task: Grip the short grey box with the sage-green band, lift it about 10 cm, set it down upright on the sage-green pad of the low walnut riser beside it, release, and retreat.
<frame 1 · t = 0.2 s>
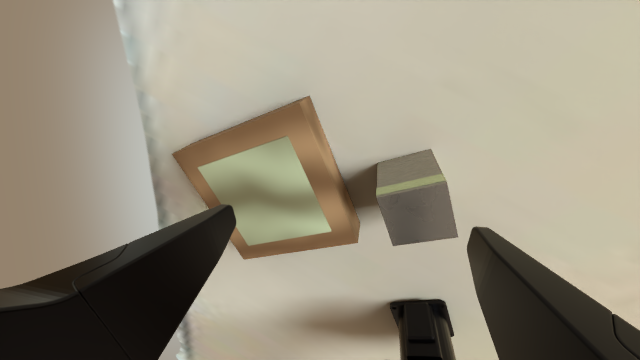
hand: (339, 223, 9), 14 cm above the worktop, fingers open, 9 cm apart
riser: (276, 183, 26), on the worktop
grey box: (409, 178, 22), on the worktop
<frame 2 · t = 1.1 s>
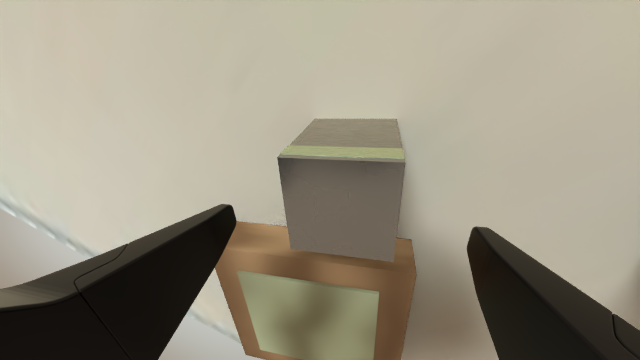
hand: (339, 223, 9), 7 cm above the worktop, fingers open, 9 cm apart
riser: (318, 291, 21), on the worktop
grey box: (353, 156, 15), on the worktop
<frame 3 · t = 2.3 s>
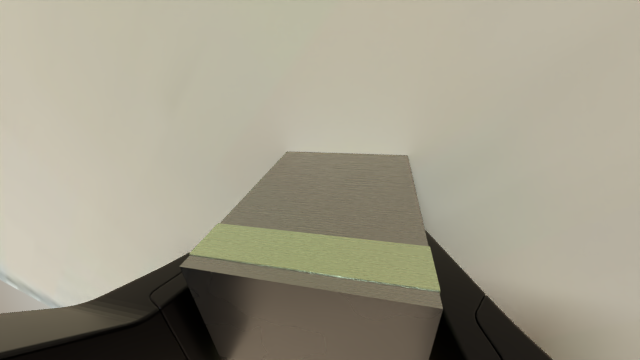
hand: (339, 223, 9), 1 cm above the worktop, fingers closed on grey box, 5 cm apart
grey box: (344, 204, 10), on the worktop, touching gripper
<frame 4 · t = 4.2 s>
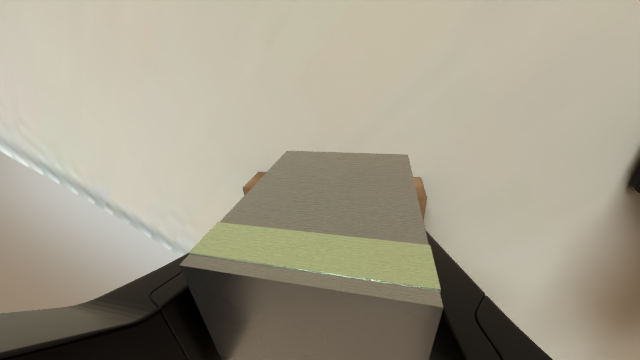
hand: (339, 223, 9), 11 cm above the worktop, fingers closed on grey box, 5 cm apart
riser: (336, 238, 24), on the worktop
grey box: (344, 203, 10), point 10 cm above the worktop, touching gripper
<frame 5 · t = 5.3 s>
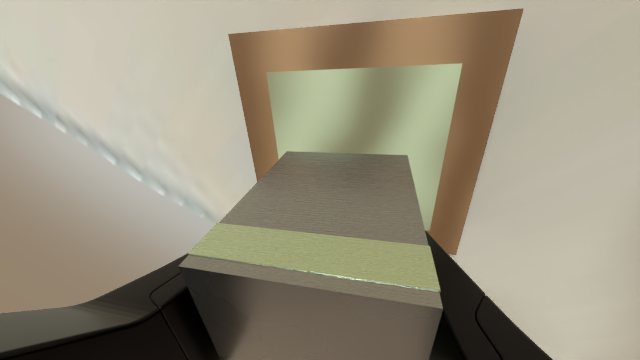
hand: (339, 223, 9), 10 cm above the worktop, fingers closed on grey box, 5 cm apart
riser: (358, 141, 18), on the worktop
grey box: (344, 203, 10), point 8 cm above the worktop, touching gripper
when the fingers open (6 cm above the worktop, at t = 6.3 s): grey box drops 1 cm, resting on riser.
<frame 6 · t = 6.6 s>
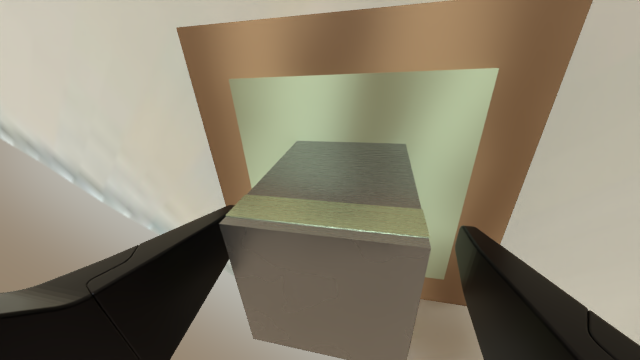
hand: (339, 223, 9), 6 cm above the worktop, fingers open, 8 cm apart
riser: (354, 162, 14), on the worktop
grey box: (348, 189, 11), point 3 cm above the worktop, touching riser
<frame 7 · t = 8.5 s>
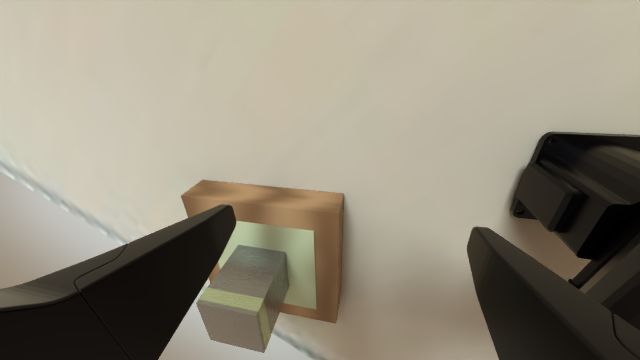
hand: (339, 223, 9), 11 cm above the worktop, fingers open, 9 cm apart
riser: (276, 243, 26), on the worktop
grey box: (264, 266, 23), point 3 cm above the worktop, touching riser
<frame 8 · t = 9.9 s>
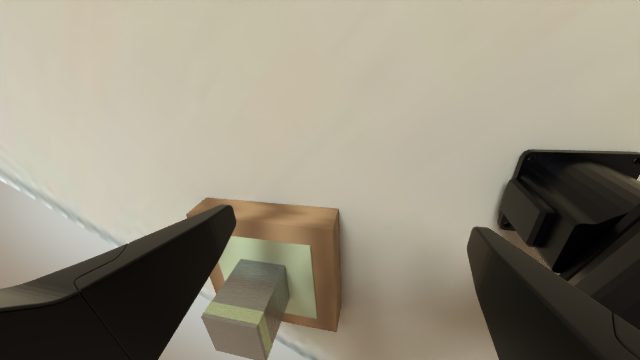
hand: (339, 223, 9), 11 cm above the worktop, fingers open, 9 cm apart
riser: (277, 255, 27), on the worktop
grey box: (265, 278, 24), point 3 cm above the worktop, touching riser
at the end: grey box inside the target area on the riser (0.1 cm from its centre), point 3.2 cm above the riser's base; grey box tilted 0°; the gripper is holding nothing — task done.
